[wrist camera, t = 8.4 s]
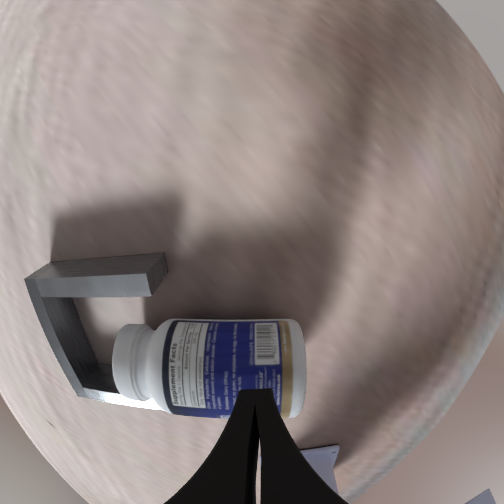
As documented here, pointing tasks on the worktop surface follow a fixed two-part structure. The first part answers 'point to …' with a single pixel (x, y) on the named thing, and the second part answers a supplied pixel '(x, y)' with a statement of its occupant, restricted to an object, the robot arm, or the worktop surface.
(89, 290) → the metal u-channel bracket
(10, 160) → the worktop surface
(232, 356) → the pill bottle
